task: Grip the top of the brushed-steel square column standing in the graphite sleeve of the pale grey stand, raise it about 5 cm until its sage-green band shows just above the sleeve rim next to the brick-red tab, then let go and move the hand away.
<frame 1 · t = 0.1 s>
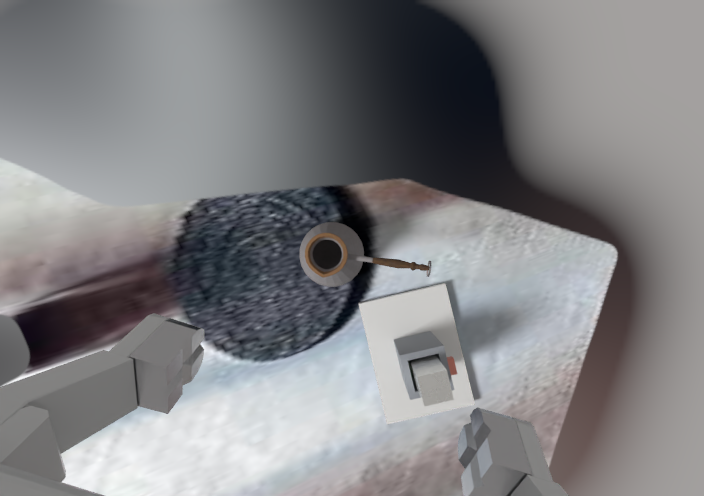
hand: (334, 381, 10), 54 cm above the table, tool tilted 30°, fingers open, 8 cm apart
stand: (415, 351, 64), on the table
column: (424, 368, 54), point 10 cm above the table, slide at 0.0 cm
coffee pot: (359, 258, 65), on the table
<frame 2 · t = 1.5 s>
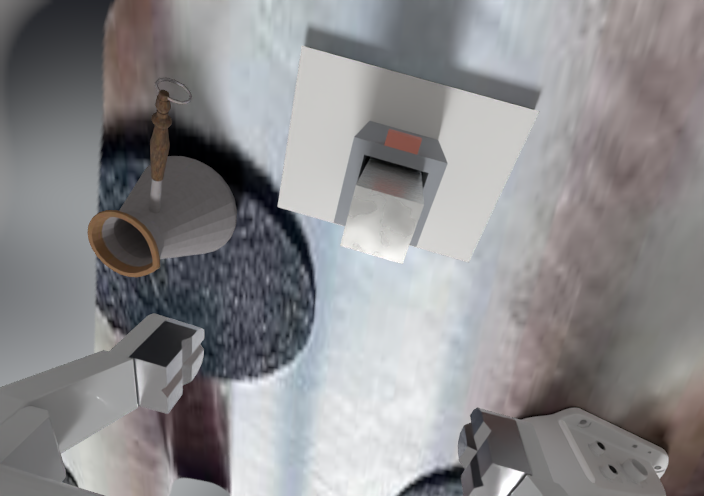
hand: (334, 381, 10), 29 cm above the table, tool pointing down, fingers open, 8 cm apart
stand: (394, 161, 36), on the table
column: (388, 187, 28), point 10 cm above the table, slide at 0.0 cm
coffee pot: (218, 166, 40), on the table
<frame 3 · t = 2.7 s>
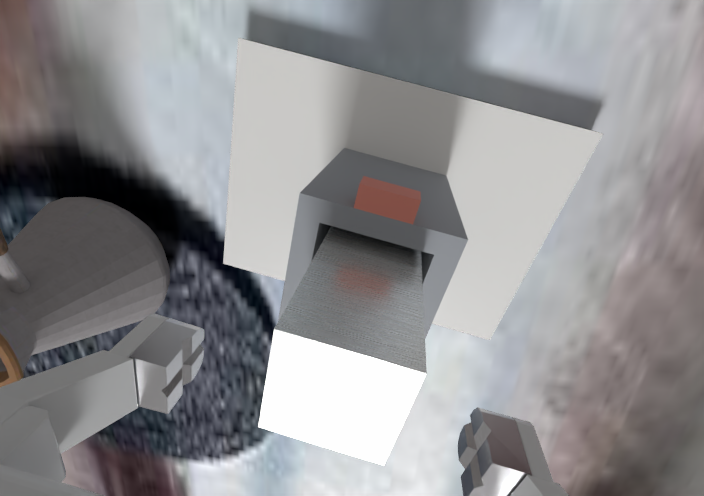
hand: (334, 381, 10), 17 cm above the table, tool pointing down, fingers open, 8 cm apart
stand: (382, 202, 25), on the table
column: (367, 265, 17), point 10 cm above the table, slide at 0.0 cm
coffee pot: (143, 207, 29), on the table
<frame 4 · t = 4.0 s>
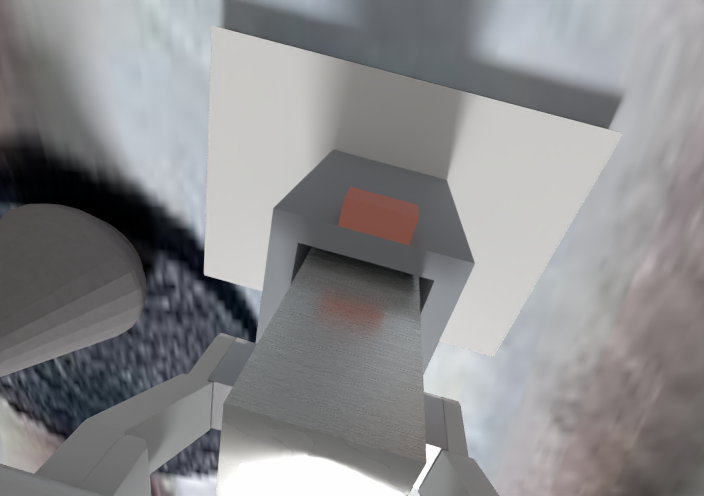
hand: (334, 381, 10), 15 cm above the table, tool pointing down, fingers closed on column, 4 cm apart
stand: (376, 208, 23), on the table
column: (357, 287, 15), point 10 cm above the table, slide at 0.0 cm, touching gripper
coffee pot: (117, 213, 27), on the table
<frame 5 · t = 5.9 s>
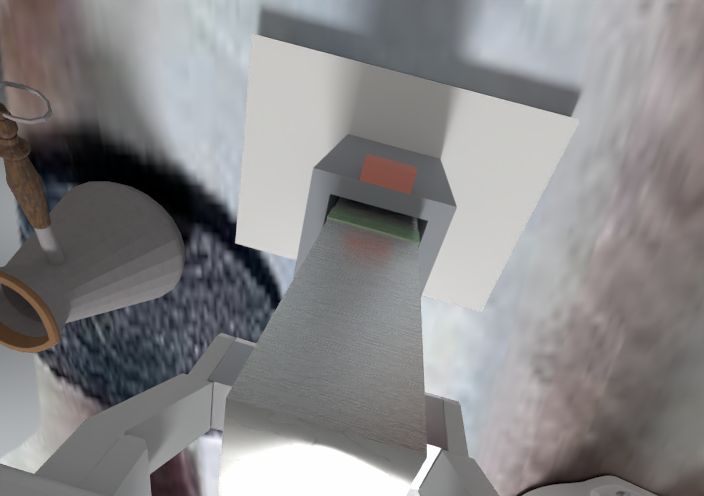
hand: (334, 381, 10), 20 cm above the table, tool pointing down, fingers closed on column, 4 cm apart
stand: (382, 185, 28), on the table
column: (357, 285, 15), point 15 cm above the table, slide at 5.1 cm, touching gripper
coffee pot: (160, 191, 31), on the table
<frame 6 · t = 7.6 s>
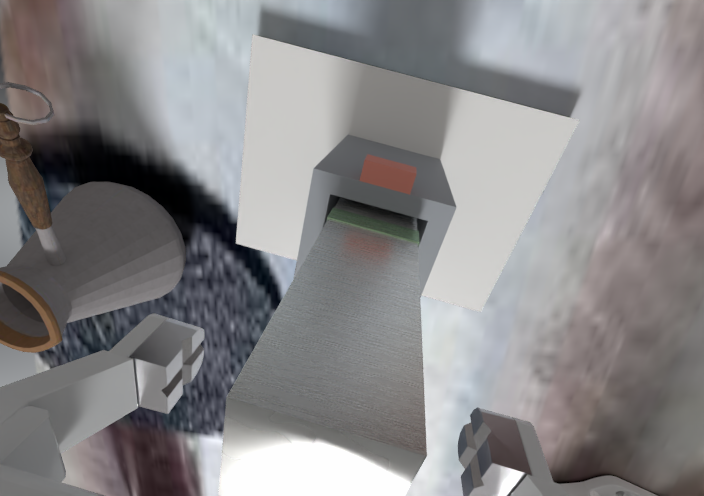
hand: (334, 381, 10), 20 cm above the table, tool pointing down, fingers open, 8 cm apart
stand: (382, 185, 28), on the table
column: (357, 285, 15), point 15 cm above the table, slide at 5.2 cm
coffee pot: (161, 191, 31), on the table
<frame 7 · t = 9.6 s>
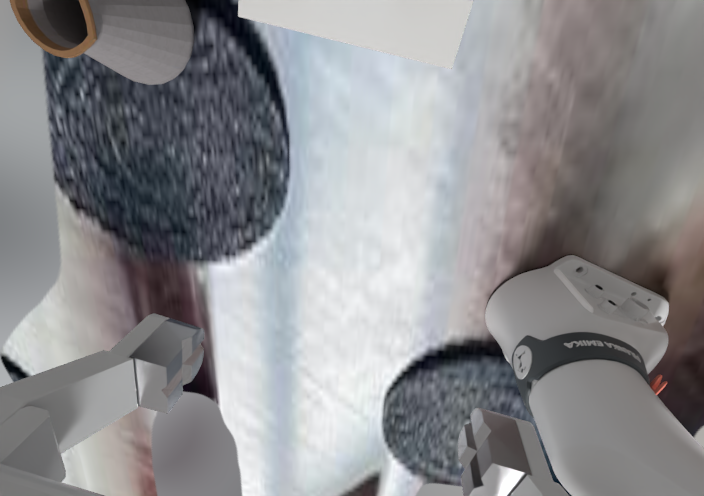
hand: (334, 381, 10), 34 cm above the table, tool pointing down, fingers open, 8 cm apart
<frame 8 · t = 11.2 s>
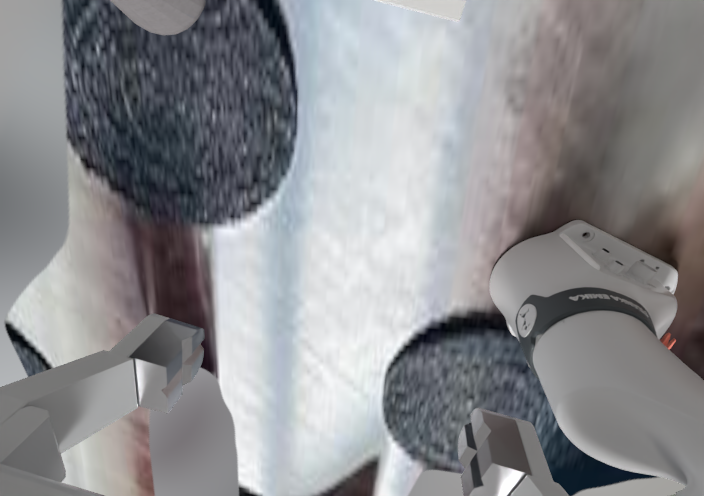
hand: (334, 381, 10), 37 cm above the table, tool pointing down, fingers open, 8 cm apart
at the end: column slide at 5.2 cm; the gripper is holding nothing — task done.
